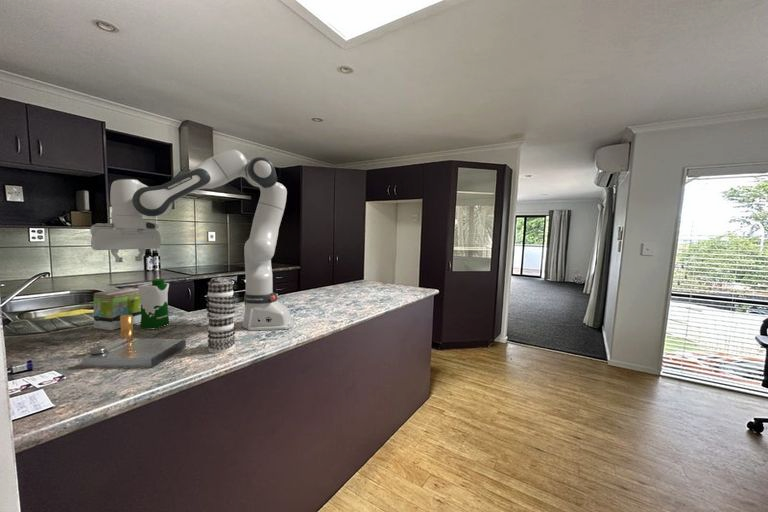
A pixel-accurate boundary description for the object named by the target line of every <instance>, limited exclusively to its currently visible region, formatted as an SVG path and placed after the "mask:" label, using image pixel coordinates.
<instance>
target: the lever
mask: <svg viewBox="0 0 768 512" xmlns="http://www.w3.org/2000/svg"><path fill="white" fill-rule="evenodd" d="M120 324H121V328H120V338H117V339H115V340H113V341H110V342H108V343H105V344H104V345H99V346H94V347H92V348H90V350H89V352H90V353H89V354H90V355H99V354H103V353H105V352H106V350H108V349H110V348H112V347H114V346H117V345H119V344H121V343H123V342H126V341H131V340H133V339H134V324H133V315H122V316H120Z"/></svg>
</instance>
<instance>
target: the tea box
mask: <svg viewBox="0 0 768 512" xmlns="http://www.w3.org/2000/svg"><path fill="white" fill-rule="evenodd" d="M122 315H133V325H134V324H139V323H140V324H141V297H140V292H139V289H138V287H125V288H119V289H114V290H107V291H100V292H99V291H98V292H94V293H93V327H94V329H99V330H107V331H115V330H117V329H121V324H120V316H122Z"/></svg>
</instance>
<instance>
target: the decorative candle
mask: <svg viewBox="0 0 768 512" xmlns="http://www.w3.org/2000/svg"><path fill="white" fill-rule="evenodd" d="M233 283H234V281H233V280H232V279H231V278H229V277H225V276H222V277H219V276H218V277H214V278H211V279H210V281H209V282H207V285H208V289H207V290H208V291H207V295H206V297H205V301H206V302H207V303H206V305H205V306H206V308H205V309H206V311H207V314H206V317H207V318H208V330H207V338H208V339H207V343H208V344H207V347H208V348H207V351H208V352H210V353H214V354H218V353H225V352H228V351H231V350H234V348H235V347H236V345H235V344H236V340H235V339H236V336H235V334H236V331H235V330H236V327H234V326H235V322H234V316H235V313H236V311H235V310H234V309H235V308H236V306H235V305H234V304H235V303H236V301H235V299H236V296H234V290H233V287H234V285H233Z"/></svg>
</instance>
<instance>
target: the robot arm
mask: <svg viewBox="0 0 768 512" xmlns="http://www.w3.org/2000/svg"><path fill="white" fill-rule="evenodd" d="M238 178H242V180H244V181H245V182H246V183H247V184H249V185H251V186H252V187H253V188H258V189H259V191H260V195H259V199H258V203H257V206H256V210H255V213H254V216H253V218H252V225H251V229H250V233H249V234H250V235H249V237H248V239H247V240H246V242H245V243H244V249H243V250H244V252H243V254H244V272H245V273H244V274H245V293H244V297H243V298H244V299H243V300H244V306H245V307H244V308H245V309H244V315H243V319H242V324H241V327H243V328H244V329H247V330H248V331H250V332H251V331H253V332H255V331H272V330H273V331H275V330H276V331H277V330H279V331H280V330H287V329H290V328H292V327H293V326H295V324H296V323H297V320H296V319H295V317H291V312H290V309H289V308H288V307H287V306H286V305H284V304H283V303H281V302H280V301H278V295H279V294H278V293H275V292H274V291H273V288H274V287H273V285H274V284H273V269H272V259H273V257H274V255H275V252H276V246H277V241H278V237H279V229H280V226H281V222H282V220H283V219H282V218H283V216H284V212H285V208H286V203H287V195H288V191H287V190H288V189H287V188H286V186H284V184H283V183H280V182H278V175H277V172H276V168H275V165H274V163H273V162H272V161H271V160H270V159H268V158H266V157H263V156H257V157H254V158H253V159H251V160H249V159H248V158H247V157H245V155H244V153H242V152H241V151H239V150H238V149H229V150H226V151H223V152H220V153H218V154H216V155H213V156H211V157H208V158H207V159H205V160H204V161H202V162H200V163H199V164H198V165H196V166H195V167H194V168H192V169H191V170H189V171H188V172H186V173H184V174H182V175H180V176H178V177H175V178H174V179H171V180H169V181H167V182H165V183H162V184H160V185H153V186H148V185H146V184H144V183H142V182H141V181H139V180H138V179H135V178H120V179H119V178H118V179H115V180H114V181H113V182H112V183H111V185H110V193H109V195H110V197H109V198H110V205H111V213H110V219H111V223H100V222H99V223H95V224H92V225H91V226H90V229H89V230H90V232H89V233H90V235H91V237H90V248H91V249H92V250H94V251H110V253H111V255H112V256H113V257H114V258H115V260H114V261H115V263H117V264H118V263H123V262H124V261H123V257H122V256H121V257H120V256H119V254H118V253H119V250H121V251H122V250H137V251H138V252H139V253H138V255H137V256H134V260H135V262H143V256H144V255H145V253H146V250H147V249H148V250H149V249H150V250H151V249H159V248H160V247H162V238H161V234H160V232H159V230H158V228H159V225H158V224H157V223H154V222H153V221H152V222H151V221H149V220H145V219H144V217H143V215H144V216H147V217H163V216H165V215H167V214H169V213H170V212H171V211H172V210H173V206H174V205H173V204H174V203H173V202H175V201H176V200H178V199H180V198H183V197H185V196H187V195H188V194H190V193H193V192H194V191H198V190H205V189H211V190H212V189H217V188H218V187H222V186H224V185H226V184H228V183H229V182H232V181H233V180H236V179H238Z"/></svg>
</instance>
